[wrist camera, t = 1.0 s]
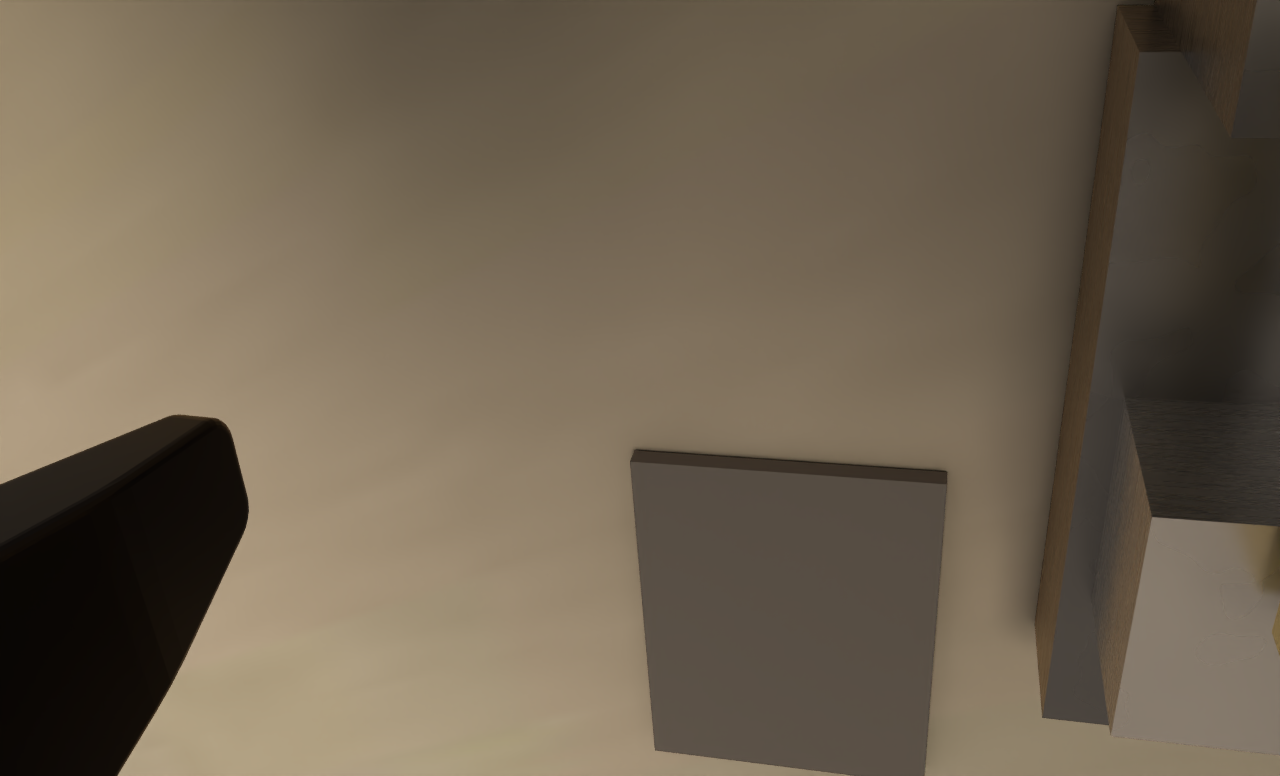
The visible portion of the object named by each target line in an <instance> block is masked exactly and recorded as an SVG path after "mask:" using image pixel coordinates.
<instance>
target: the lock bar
mask: <svg viewBox="0 0 1280 776" xmlns="http://www.w3.org/2000/svg"><path fill="white" fill-rule="evenodd" d="M1272 635H1273V638H1274V641H1275V644H1276V647H1277V650H1278V653H1279V656H1280V603H1279V607H1278V610H1277V614H1276V618H1275V622H1274V625H1273V629H1272Z"/></svg>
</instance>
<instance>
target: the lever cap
mask: <svg viewBox="0 0 1280 776" xmlns="http://www.w3.org/2000/svg"><path fill="white" fill-rule="evenodd" d="M1279 603H1280V406H1269V405H1250V404H1232V403H1213V402H1195V401H1177V400H1158V399H1140V398H1124V404H1123V410H1122V416H1121V422H1120V428H1119V435H1118V441H1117V447H1116V453H1115V459H1114V465H1113V471H1112V477H1111V483H1110V490H1109V496H1108V502H1107V508H1106V514H1105V520H1104V526H1103V532H1102V538H1101V545H1100V551H1099V557H1098V563H1097V569H1096V575H1095V581H1094V587H1093V593H1092V600H1091V604H1092V610H1093V617H1094V624H1095V631H1096V638H1097V645H1098V652H1099V659H1100V666H1101V673H1102V679H1103V686H1104V693H1105V700H1106V707H1107V714H1108V721H1109V728H1110V735H1111V736H1114V737H1123V738H1132V739H1141V740H1149V741H1158V742H1167V743H1176V744H1184V745H1193V746H1202V747H1211V748H1220V749H1228V750H1237V751H1246V752H1255V753H1263V754H1272V755H1280V656H1279V653H1278V650H1277V647H1276V644H1275V641H1274V638H1273V635H1272V629H1273V625H1274V622H1275V618H1276V614H1277V610H1278V607H1279Z"/></svg>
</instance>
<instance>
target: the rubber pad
mask: <svg viewBox="0 0 1280 776" xmlns="http://www.w3.org/2000/svg"><path fill="white" fill-rule="evenodd" d="M630 466H631V477H632V489H633V501H634V512H635V524H636V536H637V547H638V559H639V570H640V582H641V594H642V605H643V617H644V628H645V640H646V652H647V663H648V675H649V686H650V698H651V710H652V721H653V733H654V744H655V750H657V751H665V752H672V753H680V754H688V755H696V756H704V757H712V758H720V759H728V760H736V761H743V762H751V763H759V764H767V765H775V766H783V767H791V768H799V769H807V770H814V771H822V772H830V773H838V774H846V775H854V776H924V772H925V759H926V747H927V734H928V721H929V708H930V696H931V683H932V670H933V657H934V644H935V632H936V619H937V606H938V593H939V581H940V568H941V555H942V542H943V530H944V517H945V504H946V491H947V472H938V471H924V470H909V469H895V468H880V467H866V466H852V465H837V464H823V463H809V462H794V461H780V460H765V459H751V458H737V457H722V456H708V455H694V454H679V453H665V452H650V451H636V450H635V451H634V453H633V456H632V458H631V461H630Z"/></svg>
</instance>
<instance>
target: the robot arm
mask: <svg viewBox="0 0 1280 776" xmlns="http://www.w3.org/2000/svg"><path fill="white" fill-rule="evenodd" d="M248 513H249V506H248V497H247V493H246V489H245V485H244V481H243V477H242V473H241V469H240V465H239V462H238V458H237V454H236V450H235V446H234V442H233V438H232V435H231V432H230V430H229V429H228V427H227V426H226V424H225V423H224V422H222V421H220V420H219V419H216V418H208V417H199V416H189V415H172V416H168V417H166V418H163V419H161V420H158V421H156V422H153V423H151V424H148V425H146V426H143V427H141V428H139V429H136V430H134V431H131V432H129V433H126V434H124V435H121V436H119V437H116V438H114V439H111V440H109V441H106V442H104V443H101V444H99V445H97V446H94V447H92V448H89V449H87V450H84V451H82V452H79V453H77V454H74V455H72V456H69V457H67V458H64V459H62V460H59V461H57V462H55V463H52V464H50V465H47V466H45V467H42V468H40V469H37V470H35V471H32V472H30V473H27V474H25V475H22V476H20V477H17V478H15V479H13V480H10V481H8V482H5V483H3V484H0V776H118V774H119V772H120V771H121V769H122V767H123V766H124V764H125V762H126V761H127V759H128V757H129V756H130V754H131V752H132V751H133V749H134V748H135V746H136V744H137V743H138V741H139V739H140V738H141V736H142V734H143V733H144V731H145V729H146V728H147V726H148V724H149V723H150V721H151V719H152V718H153V716H154V714H155V713H156V711H157V709H158V708H159V706H160V704H161V702H162V701H163V699H164V697H165V695H166V694H167V692H168V690H169V688H170V687H171V685H172V683H173V681H174V679H175V677H176V675H177V673H178V671H179V669H180V667H181V665H182V663H183V661H184V659H185V657H186V655H187V653H188V651H189V649H190V647H191V644H192V642H193V640H194V638H195V636H196V634H197V632H198V629H199V627H200V625H201V623H202V621H203V619H204V617H205V615H206V612H207V610H208V608H209V606H210V604H211V602H212V600H213V597H214V595H215V593H216V591H217V589H218V587H219V585H220V583H221V580H222V578H223V576H224V574H225V572H226V570H227V568H228V565H229V563H230V561H231V559H232V557H233V555H234V553H235V551H236V548H237V546H238V544H239V542H240V540H241V538H242V536H243V533H244V531H245V528H246V524H247V520H248Z"/></svg>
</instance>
